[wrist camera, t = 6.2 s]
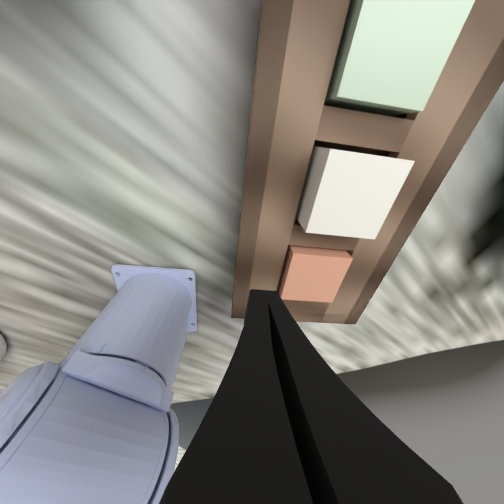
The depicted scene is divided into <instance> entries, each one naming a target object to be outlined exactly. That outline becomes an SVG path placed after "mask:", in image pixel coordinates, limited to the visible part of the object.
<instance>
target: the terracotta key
mask: <svg viewBox="0 0 504 504" xmlns="http://www.w3.org/2000/svg"><path fill="white" fill-rule="evenodd" d="M352 260H353V258H352V257H351V256H350V255H349V254H348V252H347V251H346V250H341V249H330V248H319V247H308V246H297V245H288V248H287V252H286V256H285V259H284V263H283V267H282V271H281V275H280V279H279V283H278V290H279V294H280V297H281V299H283V300H299V301H315V302H330V303H332V302H333V300H334V298H335V296H336V294H337V292H338V289H339V287H340V285H341V283H342V281H343V279H344V277H345V275H346V272H347V270H348V268H349V266H350V264H351V262H352Z"/></svg>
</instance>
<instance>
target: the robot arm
mask: <svg viewBox="0 0 504 504" xmlns="http://www.w3.org/2000/svg"><path fill="white" fill-rule="evenodd" d="M111 271H112V274H113V277H114V280H115V284H116V287H117V290H118V292H117V293H116V294H115V296H114V297H113V298H112V299H111V301H110V302H109V303H108V304H107V306H106V307H105V308H104V309H103V311H102V312H101V313H100V314H99V315H98V317H97V318H96V319H95V320H94V322H93V323H92V324H91V325H90V327H89V328H88V329H87V330H86V332H85V333H84V334H83V335H82V337H81V338H80V339H79V340H78V342H77V343H76V344H75V345H74V347H73V348H72V349H71V350H70V351H69V353H68V354H67V355H66V356H65V358H64V359H63V360H62V361H61V362H60V363H59V364H56V363H53V362H49V361H48V362H45V363H43V364H41V365H38V366H35V367H32V368H29V369H27V370H25V371H24V372H23V373H21V374H20V375H19V376H18V377H17V378H16V379H15V380H13V381H12V382H11V383H10V384H9V385H8V386H7V387H6V388H5V389H4V390H3V391H2V392H1V393H0V504H463V502H462V500H461V499H460V497H459V495H458V494H457V493H456V491H455V489H454V488H453V486H452V485H451V484H450V483H449V482H448V481H447V480H445V479H444V478H443V477H442V476H441V475H440V474H438V473H437V472H436V471H435V470H434V469H433V468H432V467H431V466H429V465H428V464H427V463H426V462H425V461H424V460H423V459H422V458H420V457H419V456H418V455H417V454H416V453H415V452H414V451H412V450H411V449H410V448H409V447H408V446H407V445H406V444H405V443H403V442H402V441H401V440H400V439H399V438H398V437H397V436H396V435H395V434H394V433H393V432H392V431H391V430H390V429H389V428H388V427H386V425H384V424H383V423H382V422H381V421H380V420H379V419H378V418H377V417H376V416H375V415H374V414H373V413H372V412H371V411H370V410H369V409H368V408H367V407H366V406H365V405H364V404H363V403H362V402H361V401H360V400H359V398H358V397H357V396H356V395H355V394H353V392H352V391H351V390H350V389H349V388H348V387H347V386H346V385H345V384H344V383H343V382H342V381H341V379H340V378H339V377H338V376H337V375H336V374H335V373H334V371H333V370H332V369H331V368H330V367H329V365H328V364H327V363H326V362H325V361H324V359H323V358H322V357H321V356H320V354H319V353H318V352H317V351H316V349H315V348H314V347H313V345H312V344H311V343H310V341H309V340H308V339H307V337H306V336H305V334H304V333H303V331H302V330H301V329H300V327H299V326H298V324H297V323H296V321H295V320H294V318H293V317H292V315H291V313H290V312H289V310H288V309H287V307H286V305H285V304H284V302H283V300H282V299H281V297H280V295H279V293H278V292H277V291H271V290H259V289H251V290H250V291H249V296H248V301H247V306H246V312H245V320H244V327H243V330H242V333H241V336H240V338H239V341H238V344H237V347H236V349H235V352H234V354H233V357H232V359H231V362H230V364H229V366H228V369H227V371H226V373H225V375H224V378H223V380H222V382H221V384H220V386H219V388H218V391H217V393H216V395H215V397H214V399H213V401H212V403H211V405H210V407H209V409H208V411H207V413H206V414H205V417H204V419H203V420H202V422H201V424H200V426H199V428H198V430H197V432H196V434H195V436H194V438H193V439H192V441H191V443H190V445H189V447H188V449H187V450H186V452H185V454H184V456H183V457H182V459H181V461H180V463H179V464H178V466H177V468H176V470H175V472H174V473H173V471H174V467H175V463H176V458H177V452H178V441H179V426H178V420H177V417H176V414H175V413H174V411H172V410H171V409H170V405H171V402H172V398H173V394H174V393H173V392H172V391H170V390H169V389H170V387H171V386H172V384H173V382H174V379H175V376H176V373H177V369H178V366H179V362H180V359H181V355H182V351H183V348H184V344H185V341H186V337H187V334H188V332H195V331H197V304H196V274H195V272H194V271H193V270H188V269H175V268H162V267H149V266H135V265H122V264H115V265H113V266H112V267H111ZM117 272H118V273H117ZM119 273H120V274H119ZM189 278H192V279H189Z"/></svg>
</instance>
